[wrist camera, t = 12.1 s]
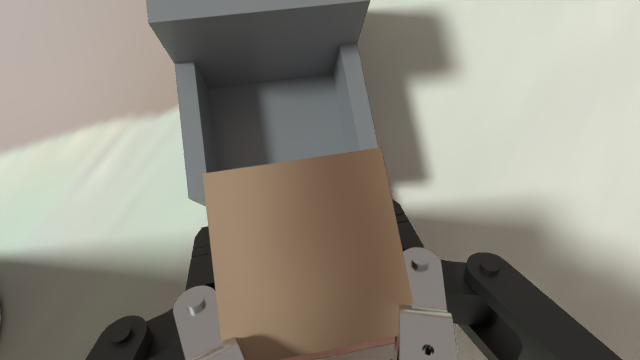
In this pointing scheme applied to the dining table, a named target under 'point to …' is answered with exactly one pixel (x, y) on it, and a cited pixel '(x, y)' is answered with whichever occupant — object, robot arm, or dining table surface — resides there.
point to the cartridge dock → (265, 81)
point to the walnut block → (306, 254)
